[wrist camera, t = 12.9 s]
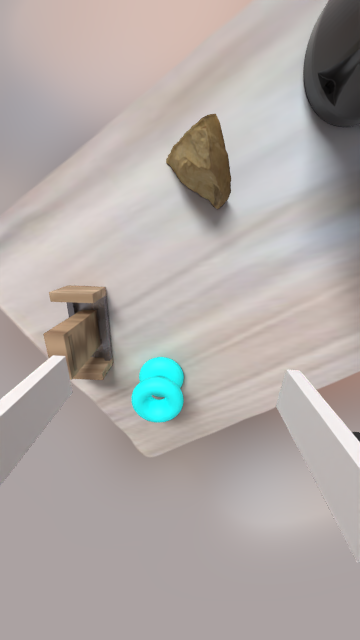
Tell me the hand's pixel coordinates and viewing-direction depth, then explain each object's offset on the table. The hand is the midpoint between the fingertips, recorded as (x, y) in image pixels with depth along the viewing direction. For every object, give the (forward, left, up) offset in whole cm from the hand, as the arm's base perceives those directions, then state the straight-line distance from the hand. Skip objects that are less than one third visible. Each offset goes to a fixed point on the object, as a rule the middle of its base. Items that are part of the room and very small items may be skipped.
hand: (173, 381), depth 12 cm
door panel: (+9, -19, -29) cm, 35 cm away
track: (+9, -19, -29) cm, 36 cm away
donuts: (+20, -4, -29) cm, 36 cm away
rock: (-18, +2, -29) cm, 34 cm away
